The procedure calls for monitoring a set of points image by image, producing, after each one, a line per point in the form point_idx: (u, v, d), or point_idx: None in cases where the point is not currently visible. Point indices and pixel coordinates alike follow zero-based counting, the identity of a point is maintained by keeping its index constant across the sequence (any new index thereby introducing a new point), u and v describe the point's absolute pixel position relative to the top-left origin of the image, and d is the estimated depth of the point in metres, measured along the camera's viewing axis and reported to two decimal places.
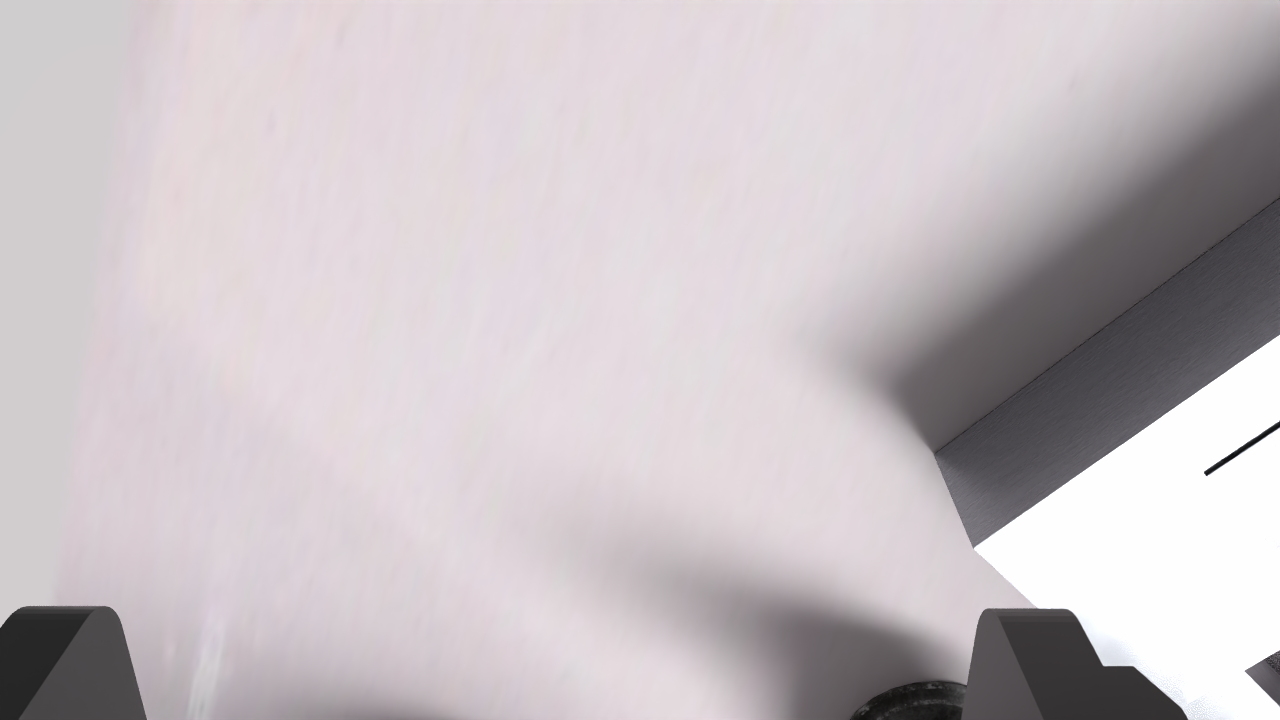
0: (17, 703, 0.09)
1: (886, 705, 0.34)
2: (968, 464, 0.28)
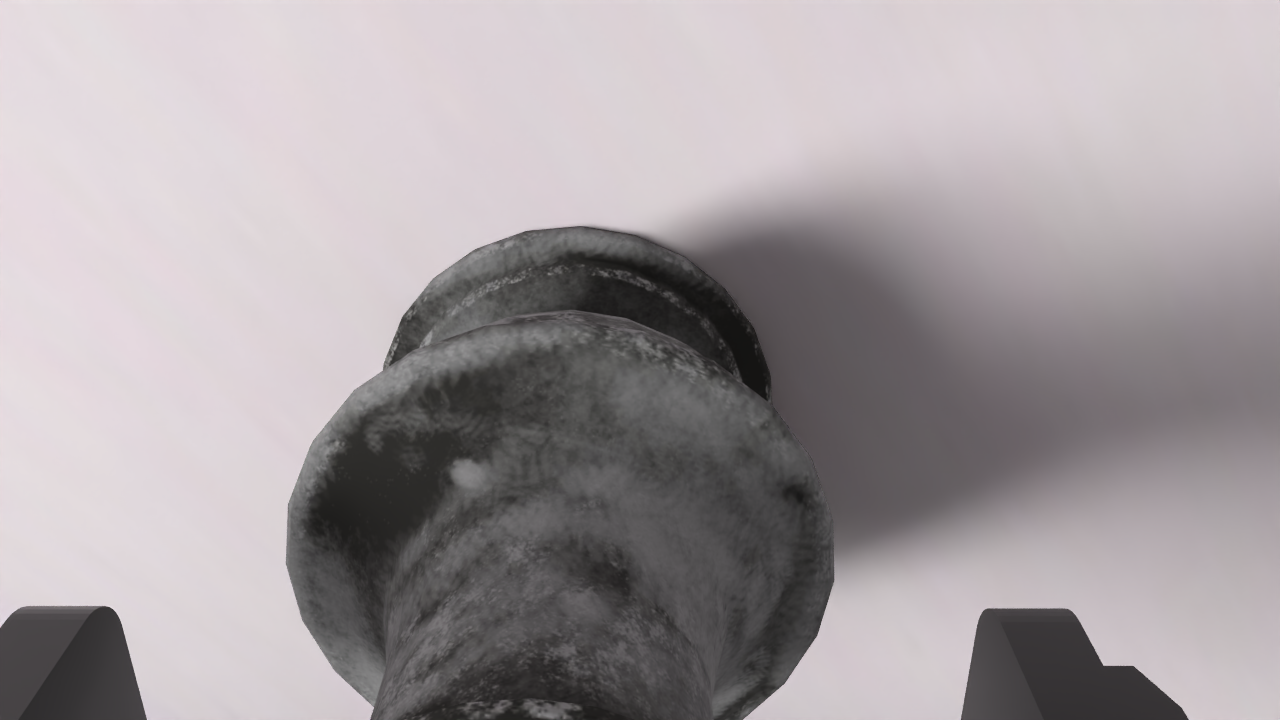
0: (17, 703, 0.09)
1: None
2: None
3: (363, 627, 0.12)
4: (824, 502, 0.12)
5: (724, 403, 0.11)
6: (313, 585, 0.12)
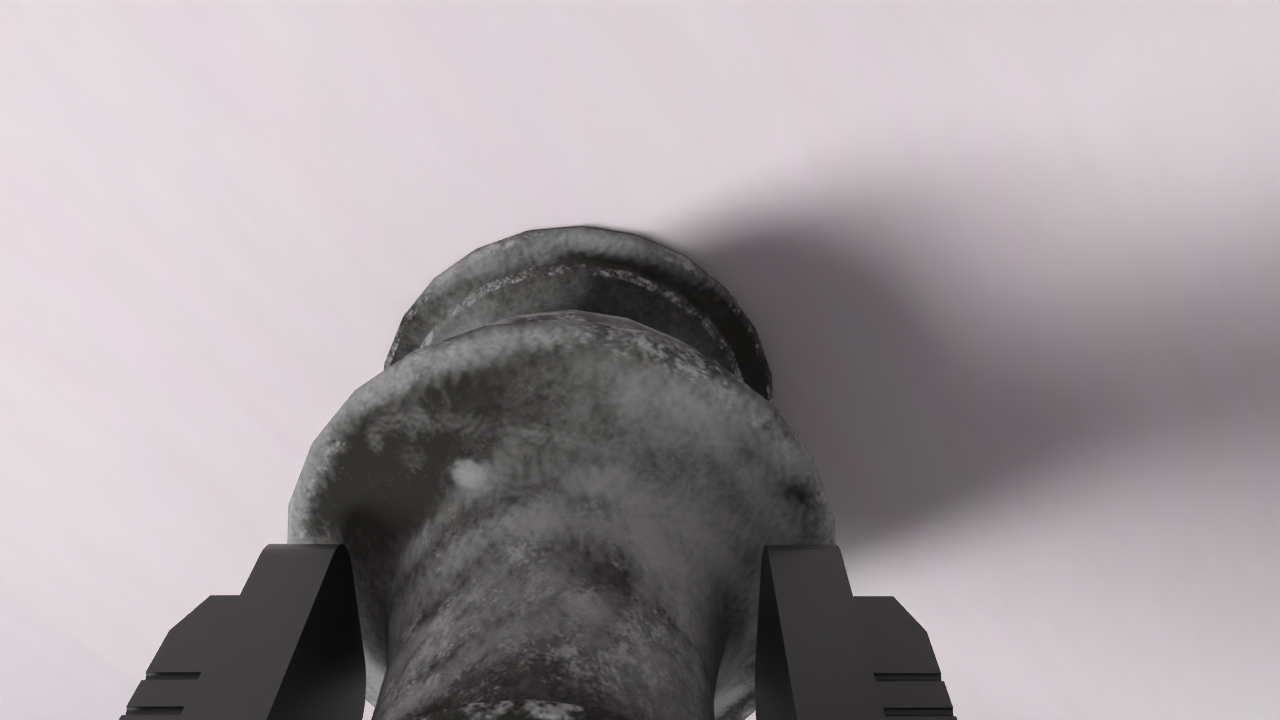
0: (293, 624, 0.10)
1: None
2: None
3: (364, 627, 0.12)
4: (826, 502, 0.11)
5: (726, 403, 0.11)
6: None
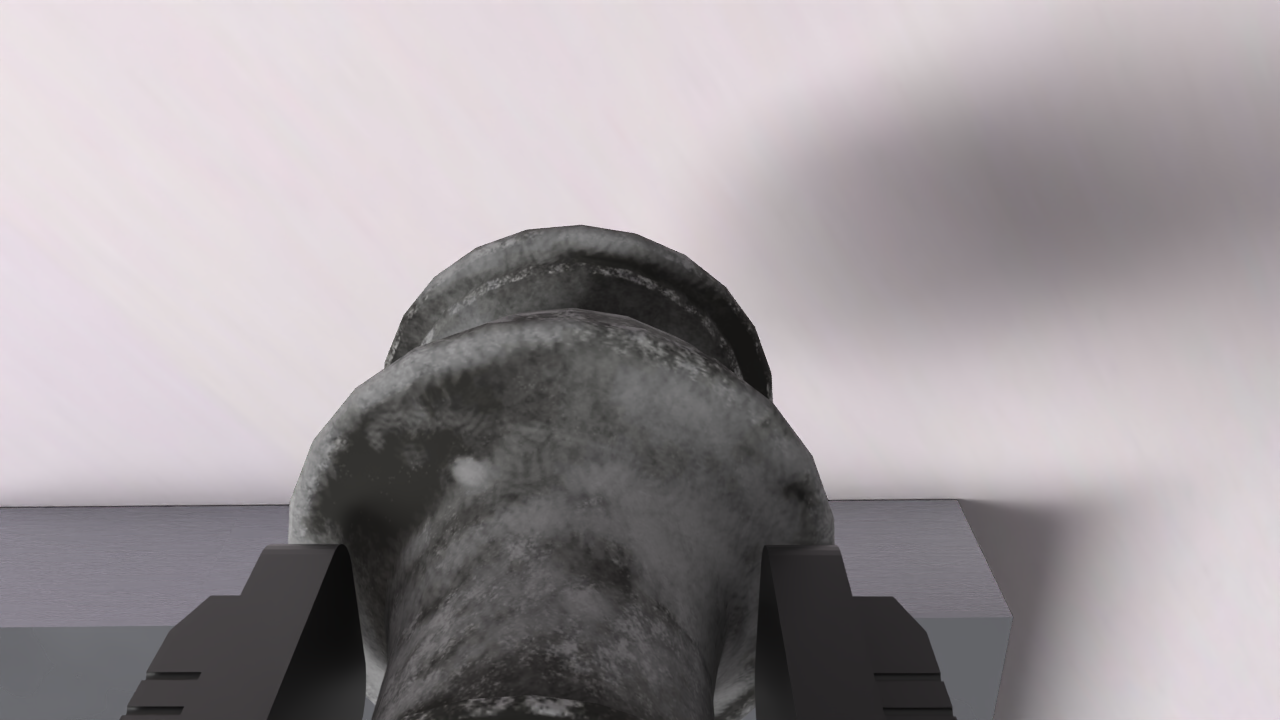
0: (293, 625, 0.10)
1: None
2: None
3: (364, 625, 0.12)
4: (825, 500, 0.12)
5: (726, 400, 0.11)
6: None
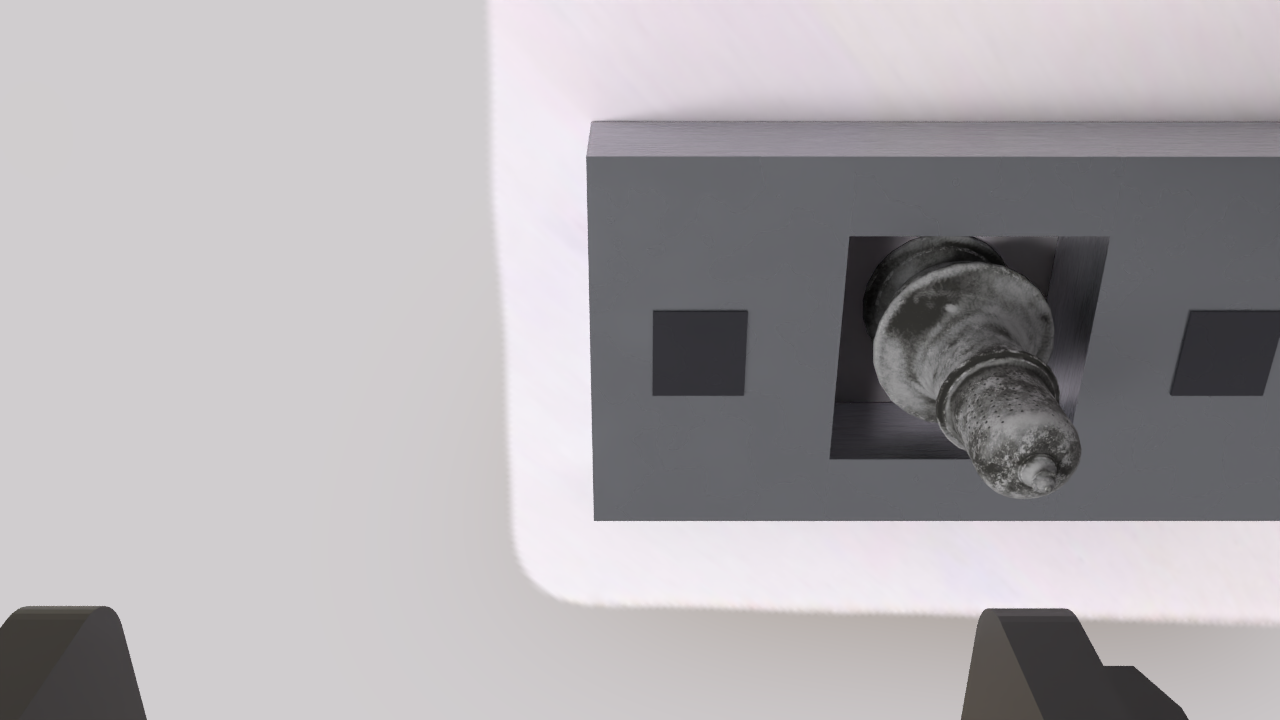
0: (17, 703, 0.09)
1: None
2: None
3: (901, 363, 0.36)
4: None
5: (1026, 288, 0.35)
6: (883, 350, 0.36)
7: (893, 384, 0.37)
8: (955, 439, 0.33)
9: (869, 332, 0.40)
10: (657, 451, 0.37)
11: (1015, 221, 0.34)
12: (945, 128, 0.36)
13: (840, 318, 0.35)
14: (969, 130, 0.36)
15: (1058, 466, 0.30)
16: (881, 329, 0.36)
